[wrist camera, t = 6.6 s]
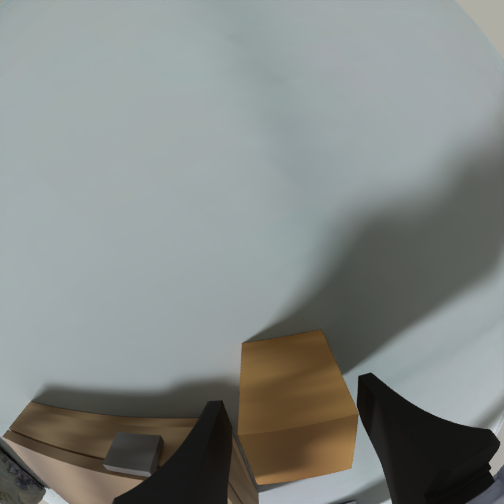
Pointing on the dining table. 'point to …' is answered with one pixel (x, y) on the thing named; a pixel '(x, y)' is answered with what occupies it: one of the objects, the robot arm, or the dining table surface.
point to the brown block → (294, 409)
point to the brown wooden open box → (104, 431)
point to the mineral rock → (17, 484)
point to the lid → (94, 467)
